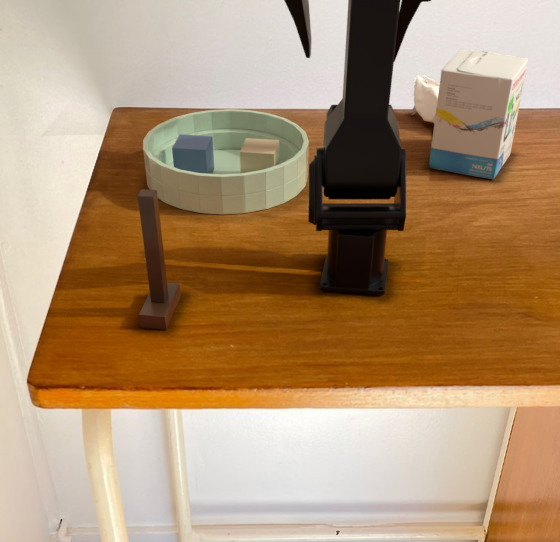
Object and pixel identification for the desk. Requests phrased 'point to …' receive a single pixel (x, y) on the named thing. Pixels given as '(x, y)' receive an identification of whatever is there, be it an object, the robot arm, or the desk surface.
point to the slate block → (194, 153)
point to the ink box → (477, 112)
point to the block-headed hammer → (155, 267)
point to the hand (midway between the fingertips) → (350, 58)
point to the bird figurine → (426, 98)
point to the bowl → (227, 162)
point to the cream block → (258, 154)
